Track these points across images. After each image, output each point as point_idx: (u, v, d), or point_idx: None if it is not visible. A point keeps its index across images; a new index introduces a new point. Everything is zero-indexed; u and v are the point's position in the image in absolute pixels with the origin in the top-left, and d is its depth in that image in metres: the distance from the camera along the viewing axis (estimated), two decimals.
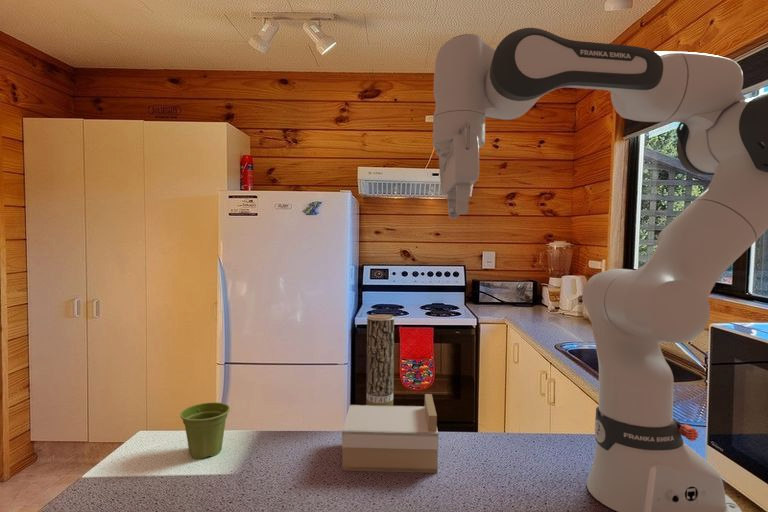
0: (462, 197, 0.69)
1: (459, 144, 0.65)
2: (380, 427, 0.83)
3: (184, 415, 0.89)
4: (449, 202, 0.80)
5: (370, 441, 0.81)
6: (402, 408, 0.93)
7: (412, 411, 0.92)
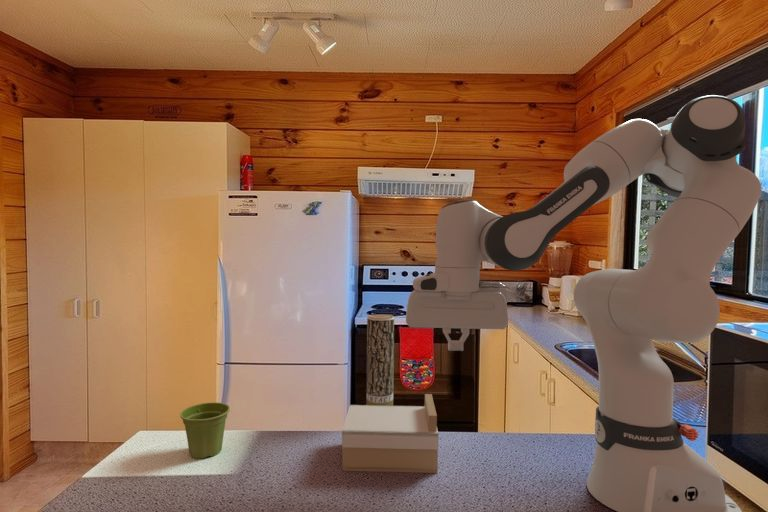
0: None
1: (505, 301, 0.86)
2: (380, 427, 0.83)
3: (184, 415, 0.89)
4: None
5: (370, 441, 0.81)
6: (402, 408, 0.93)
7: (412, 411, 0.92)
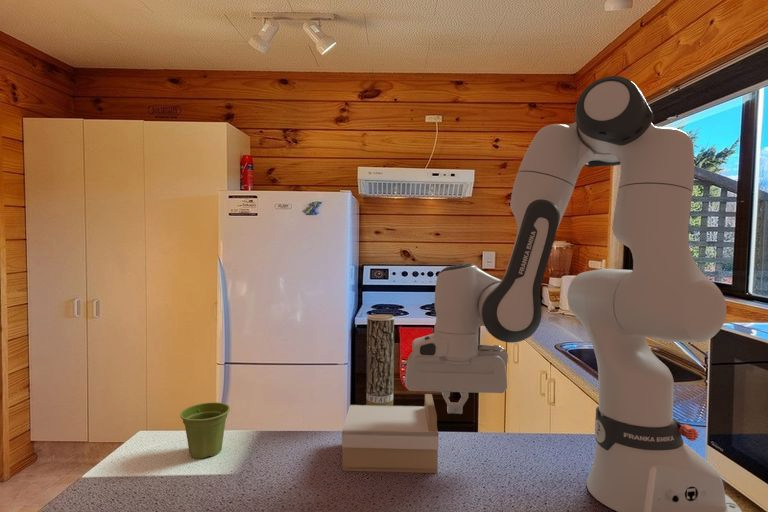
0: None
1: (504, 365, 0.86)
2: (380, 427, 0.83)
3: (184, 415, 0.89)
4: (448, 399, 0.87)
5: (370, 441, 0.81)
6: (402, 408, 0.93)
7: (412, 411, 0.92)
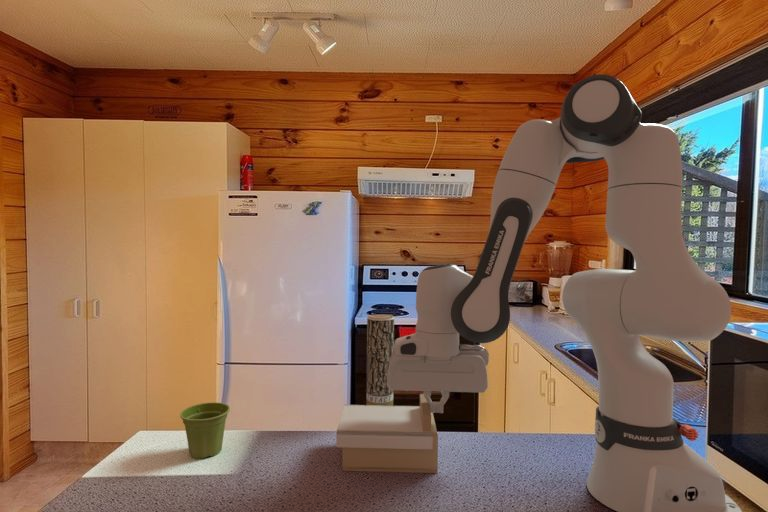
0: None
1: (485, 365, 0.86)
2: (374, 427, 0.83)
3: (184, 415, 0.89)
4: (429, 398, 0.87)
5: (364, 441, 0.81)
6: (397, 407, 0.94)
7: (407, 411, 0.92)
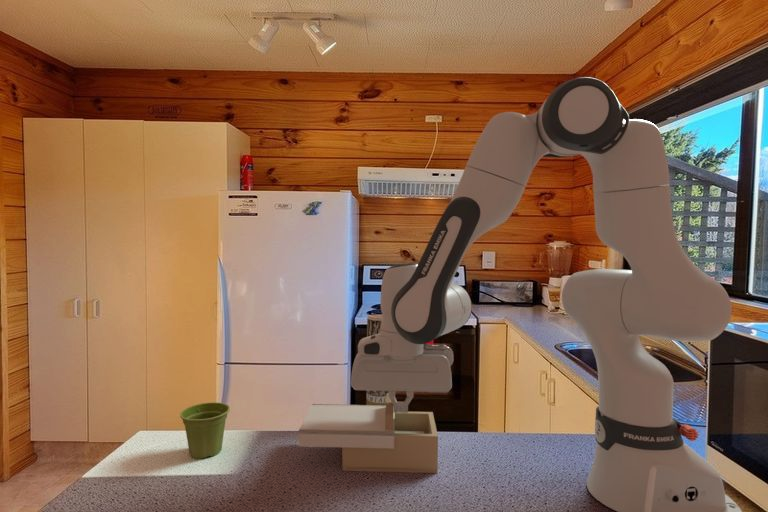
0: None
1: (449, 364, 0.86)
2: (337, 426, 0.83)
3: (184, 415, 0.89)
4: (394, 398, 0.87)
5: (326, 440, 0.81)
6: (364, 407, 0.94)
7: (373, 410, 0.92)
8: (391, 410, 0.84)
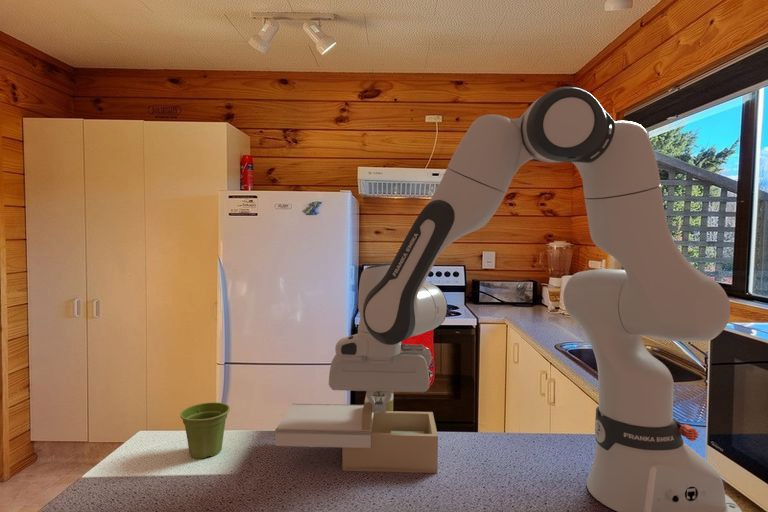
0: None
1: (427, 364, 0.86)
2: (314, 426, 0.84)
3: (184, 415, 0.89)
4: (372, 398, 0.87)
5: (303, 439, 0.82)
6: (343, 406, 0.94)
7: (352, 410, 0.92)
8: (368, 410, 0.84)
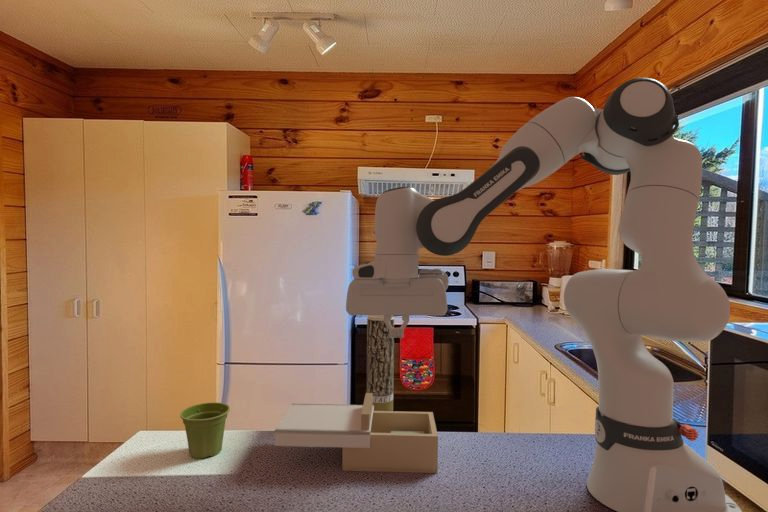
0: None
1: (444, 287, 0.86)
2: (314, 426, 0.84)
3: (184, 415, 0.89)
4: (389, 323, 0.87)
5: (302, 439, 0.82)
6: (343, 406, 0.94)
7: (352, 410, 0.92)
8: (368, 410, 0.84)
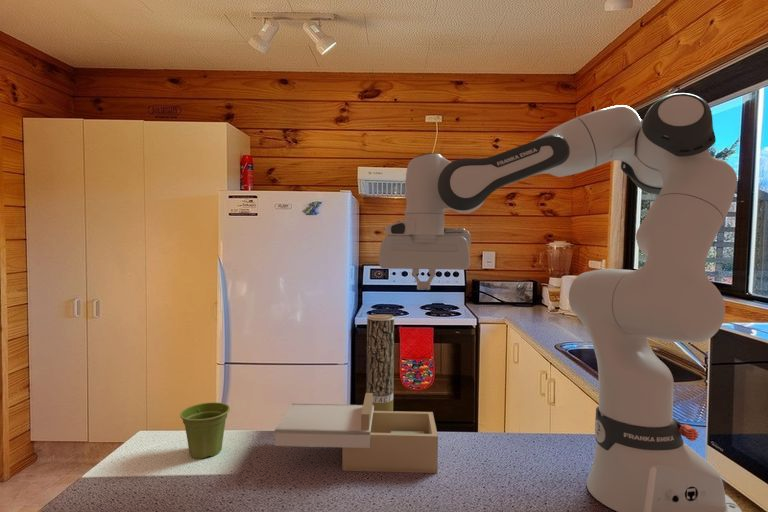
0: (432, 278, 0.97)
1: (467, 244, 0.96)
2: (314, 426, 0.84)
3: (184, 415, 0.89)
4: None
5: (302, 439, 0.82)
6: (343, 406, 0.94)
7: (352, 410, 0.92)
8: (368, 410, 0.84)
